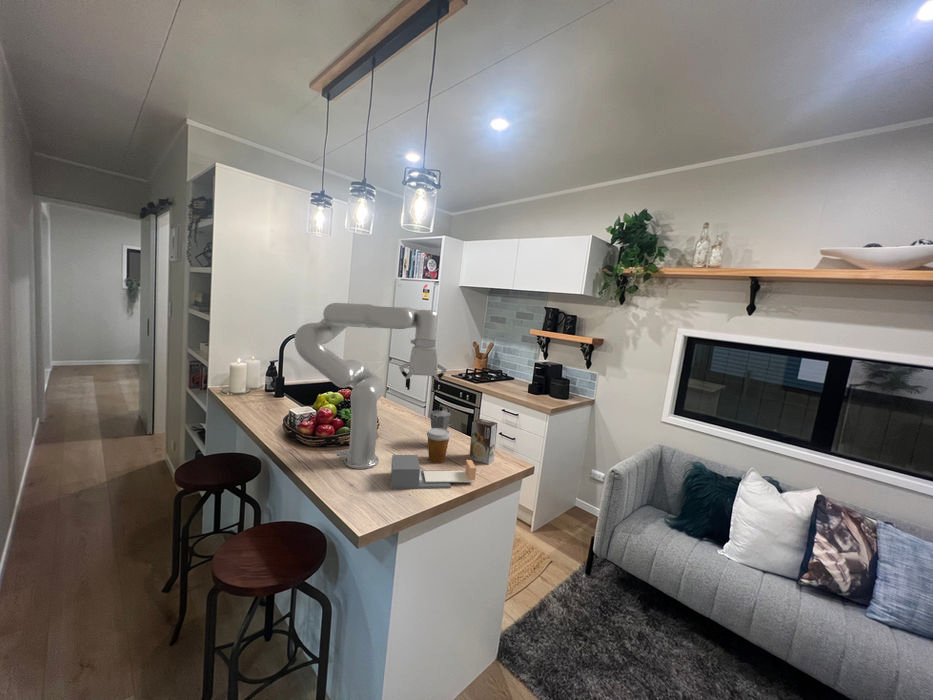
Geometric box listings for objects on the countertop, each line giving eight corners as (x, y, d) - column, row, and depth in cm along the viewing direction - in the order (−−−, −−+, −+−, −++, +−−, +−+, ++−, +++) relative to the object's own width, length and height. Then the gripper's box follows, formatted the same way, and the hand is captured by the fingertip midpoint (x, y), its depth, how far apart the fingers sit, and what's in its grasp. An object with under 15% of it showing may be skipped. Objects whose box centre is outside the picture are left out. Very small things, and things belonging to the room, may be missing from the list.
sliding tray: (425, 482, 128) (426, 468, 127) (423, 472, 135) (424, 459, 135) (474, 482, 131) (476, 468, 131) (470, 471, 139) (471, 459, 139)
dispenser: (391, 488, 123) (392, 469, 123) (391, 472, 135) (392, 454, 134) (450, 488, 128) (452, 469, 127) (445, 472, 139) (447, 455, 139)
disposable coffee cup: (444, 467, 144) (447, 437, 143) (421, 462, 146) (423, 433, 144) (450, 457, 153) (453, 429, 152) (428, 454, 155) (431, 426, 154)
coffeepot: (441, 453, 157) (444, 412, 155) (421, 448, 160) (424, 408, 158) (455, 442, 171) (458, 404, 169) (437, 438, 175) (440, 400, 173)
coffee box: (494, 459, 155) (498, 422, 153) (488, 464, 150) (492, 426, 148) (475, 454, 159) (478, 417, 158) (468, 458, 154) (471, 421, 152)
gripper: (401, 343, 130) (397, 391, 132) (449, 346, 134) (445, 393, 136) (400, 341, 137) (397, 386, 139) (446, 344, 141) (443, 388, 143)
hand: (421, 389), depth 137 cm, fingers open, 9 cm apart
